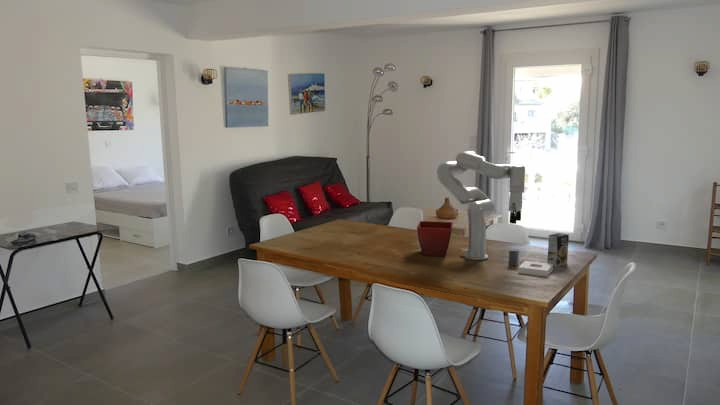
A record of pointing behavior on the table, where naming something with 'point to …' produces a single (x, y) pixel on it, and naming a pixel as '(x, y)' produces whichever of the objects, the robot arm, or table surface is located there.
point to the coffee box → (558, 249)
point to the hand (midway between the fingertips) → (515, 221)
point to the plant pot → (434, 237)
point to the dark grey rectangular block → (513, 257)
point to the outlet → (535, 268)
